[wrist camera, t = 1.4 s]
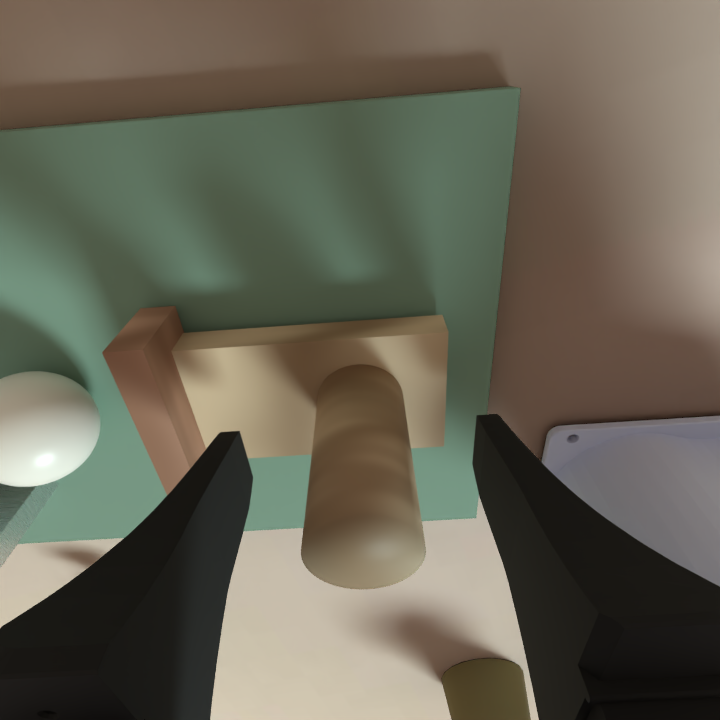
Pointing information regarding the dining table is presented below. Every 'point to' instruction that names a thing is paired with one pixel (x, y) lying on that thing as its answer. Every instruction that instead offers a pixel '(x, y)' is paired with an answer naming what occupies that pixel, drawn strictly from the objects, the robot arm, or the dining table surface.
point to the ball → (44, 427)
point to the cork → (486, 690)
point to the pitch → (254, 264)
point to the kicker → (302, 421)
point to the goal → (19, 512)
